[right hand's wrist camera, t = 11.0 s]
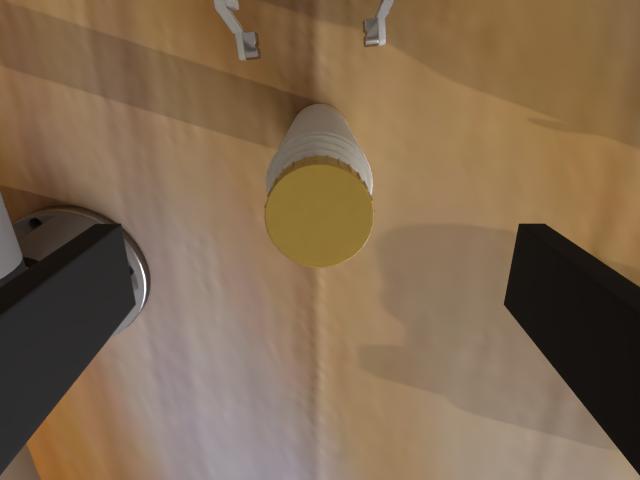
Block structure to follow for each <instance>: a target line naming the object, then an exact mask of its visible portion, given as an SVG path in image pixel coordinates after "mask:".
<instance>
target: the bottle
mask: <svg viewBox="0 0 640 480" xmlns="http://www.w3.org/2000/svg"><path fill="white" fill-rule="evenodd" d="M315 155H317V156H327V155H329V157H332V158H335V159H338V158H339V159H340V160H341V161H343V162H345V163H346V164H350V165H351V167H352V168H353V169H354V170H355V171H356V172H357V171H358V172H359V174H360V176H361V178H362V180H363V181H365V182H366V185H367V187H368V190H367V191H369V192H370V195H371V194H372V187H373V180H372V172H371V169H370V165H369V163H368V161H367V159H366V157H365V155H364V153H363V151H362V150H361V148H360V146H359V144H358V142H357V140H356V138H355V137H354V135H353V133H352V131H351V129H350V127H349V126H348V124H347V122H346V120H345V118H344V117H343V115H342V114H341V113H340V112H339V111H338V110H337V109H335V108H334V107H332V106H330V105H326V104H313V105H310V106H307V107H306V108H304V109H303V110H301V111H300V112H299V113H298V115H297V116H296V117H295V119H294V121H293V123H292V124H291V126H290V128H289V130H288V132H287V133H286V135H285V137H284V139H283V141H282V142H281V144H280V146H279V148H278V150H277V151H276V153H275V155H274V157H273V158H272V161H271V163H270V165H269V168H268V172H267V178H266V188H267V194H268V193H269V191H270V188H271V187H273V186H272V185H273V183H274V181H275V178H276V177H278V176H279V175H280V174H281V173H282V170H283V169H284V168H285V169H286V168H287V167H288V166H289V165H291V164H292V162H293V161H294V162H296V161H298V160H300V159H303V157H305V158H307V157H311V156H315Z"/></svg>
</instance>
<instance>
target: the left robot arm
mask: <svg viewBox="0 0 640 480" xmlns="http://www.w3.org/2000/svg"><path fill="white" fill-rule="evenodd" d="M393 2H394V0H382V1H381V3H380V6H379V8H378V10H377V12H376V15H375V17H374V18H372V19H365V20H364V21H363V32H364V34H365V36H364V38H363V39H364V47H373V46H382V45H385V41H386V32H385V18H386V17H387V15H388V13H389V10H390V8H391V6H392V4H393ZM214 6H215V9H216V11H217V12H218V14H219V15H220V16H221V18H222V19H223V21H224V22H225V23H226V25H227V26H228V28H229V29H230V30H231V32H232V33H233V34H235V39H236V45H237V51H238V56H239V60H240V61H245V60H253V59H261V53H260V49H259V48H258V45H259V39H258V34H257V33H255V32H247V33H246V32H245V30H244V29H243V27H242V26H241V24H240V23H239V22H238V20H237V19H236V17H235V16H234V14H233V13H232V10H233V11H238V10H239V4H238V0H214Z"/></svg>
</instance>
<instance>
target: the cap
mask: <svg viewBox="0 0 640 480" xmlns="http://www.w3.org/2000/svg"><path fill="white" fill-rule="evenodd" d="M272 186H273V187H271V188H270V191H269V193H268V195H267V196H268V199H267V202H266V204H265V224H266V228H267V232H268V234H269V237H270V239H271V240H272V242H273V244H274V245H275V246H276V248H277V249H278V250H279V251H280V252H281V253H282V254H283V255H285V256H286V257H287V258H289V259H290V260H292V261H294V262H296V263H298V264H301V265H305V266H309V267H329V266H334V265H337V264H340V263H342V262H345V261H347V260H348V259H350V258H351V257H353V256H354V255H355V254H357V253H358V252H359V251H360V249H361V248H362V247H363V246H364V244H365V243H366V241H367V240H368V238H369V236H370V233H371V231H372V227H373V220H374V209H373V205H372V201H373V200H372V197H371V195H370V192H369V191H367V190H368V187H367V185H366V182H365V181H363V180H362V178H361V176H360V174H359V172H358V171H357V172H356V171H355V170H354V169H353V168H352V167H351V165H350V164H346V163H345V162H343V161H341V160H340V159H339V158H338V159H335V158H332V157H329V155H327V156H317V155H315V156H311V157H307V158H305V157H303V159H300V160H298V161H296V162H294V161H293V162H292V164H291V165H289V166H288V167H287V168H286V169H285V168H284V169H283V170H282V173H281V174H280V175H279V176H278V177H276V178H275V181H274V183H273V185H272Z"/></svg>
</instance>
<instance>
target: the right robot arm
mask: <svg viewBox="0 0 640 480" xmlns="http://www.w3.org/2000/svg"><path fill="white" fill-rule="evenodd" d="M149 291H150V273H149V268H148V265H147V262H146V259H145V257H144V255H143V253H142V251H141V249H140V248H139V246H138V245H137V243H136V242H135V241H134V239H133V238H132V237H131V236H130V235H129V234H128V233H127V232H126V231H125V230H124V229H123V228H122V227H121V224H116V223H115V222H114V221H112V220H110V219H109V218H107V217H105V216H103V215H101V214H99V213H97V212H94V211H92V210H88V209H85V208H81V207H75V206H52V207H46V208H43V209H40V210H37V211H35V212H33V213H31V214H29V215H27V216H24V217H23V218H21V219H19V220H18V221H16V222H15V223H14V224H13V225H12V224H11V221H10V218H9V215H8V212H7V209H6V207H5V204H4V201H3V198H2V194H1V191H0V475H1V474H2V473H3V471H4V470H5V469H6V468H7V466H8V465H9V464H10V462H11V461H12V460H13V459H14V457H15V456H16V455H17V454H18V452H19V451H20V450H21V449H22V447H23V446H24V445H25V444H26V442H27V441H28V440H29V439H30V437H31V436H32V435H33V434H34V432H35V431H36V430H37V429H38V427H39V426H40V425H41V423H42V422H43V421H44V420H45V418H46V417H47V416H48V415H49V413H50V412H51V411H52V410H53V408H54V407H55V406H56V405H57V403H58V402H59V401H60V400H61V398H62V397H63V396H64V395H65V393H66V392H67V391H68V390H69V388H70V387H71V386H72V385H73V383H74V382H75V381H76V379H77V378H78V377H79V376H80V374H81V373H82V372H83V371H84V369H85V368H86V367H87V366H88V364H89V363H90V362H91V361H92V359H93V358H94V357H95V356H96V354H97V353H98V352H99V351H100V349H101V348H102V347H103V346H104V344H105V343H106V342H107V340H108V339H109V338H111V337H113V336H115V335H116V334H118V333H120V332H121V331H123V330H124V329H125V328H126V327H128V326H129V325H130V324H131V323H132V322H133V321H134V320H135V318H136V317H137V316H138V315H139V313H140V312H141V311H142V309H143V307H144V306H145V304H146V302H147V299H148V296H149ZM504 305H505V307H506V308H507V309H508V310H509V312H510V313H511V314H512V315H513V317H514V318H515V319H516V320H517V322H518V323H519V324H520V325H521V327H522V328H523V329H524V330H525V332H526V333H527V334H528V335H529V337H530V338H531V339H532V340H533V342H534V343H535V344H536V346H537V347H538V348H539V349H540V351H541V352H542V353H543V354H544V356H545V357H546V358H547V359H548V361H549V362H550V363H551V364H552V366H553V367H554V368H555V369H556V371H557V372H558V373H559V374H560V376H561V377H562V378H563V379H564V381H565V382H566V383H567V385H568V386H569V387H570V388H571V390H572V391H573V392H574V393H575V395H576V396H577V397H578V398H579V400H580V401H581V402H582V403H583V405H584V406H585V407H586V408H587V410H588V411H589V412H590V413H591V415H592V416H593V417H594V418H595V420H596V421H597V422H598V423H599V425H600V426H601V427H602V429H603V430H604V431H605V432H606V434H607V435H608V436H609V437H610V439H611V440H612V441H613V442H614V444H615V445H616V446H617V447H618V449H619V450H620V451H621V452H622V454H623V455H624V456H625V457H626V459H627V460H628V461H629V462H630V464H631V465H632V466H633V468H634V469H635V470H636V471H637V473H638V474H639V475H640V287H639V286H637V285H636V284H634V283H633V282H631V281H630V280H628V279H627V278H625V277H624V276H622V275H621V274H619V273H618V272H616V271H615V270H613V269H612V268H610V267H609V266H607V265H606V264H604V263H603V262H601V261H600V260H598V259H597V258H595V257H594V256H592V255H591V254H589V253H588V252H586V251H585V250H583V249H582V248H580V247H579V246H577V245H576V244H574V243H573V242H571V241H570V240H568V239H567V238H565V237H564V236H562V235H561V234H559V233H558V232H556V231H555V230H553V229H552V228H550V227H549V226H547V225H546V224H519V227H518V232H517V237H516V243H515V248H514V253H513V259H512V264H511V269H510V275H509V280H508V285H507V291H506V296H505V301H504Z"/></svg>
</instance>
